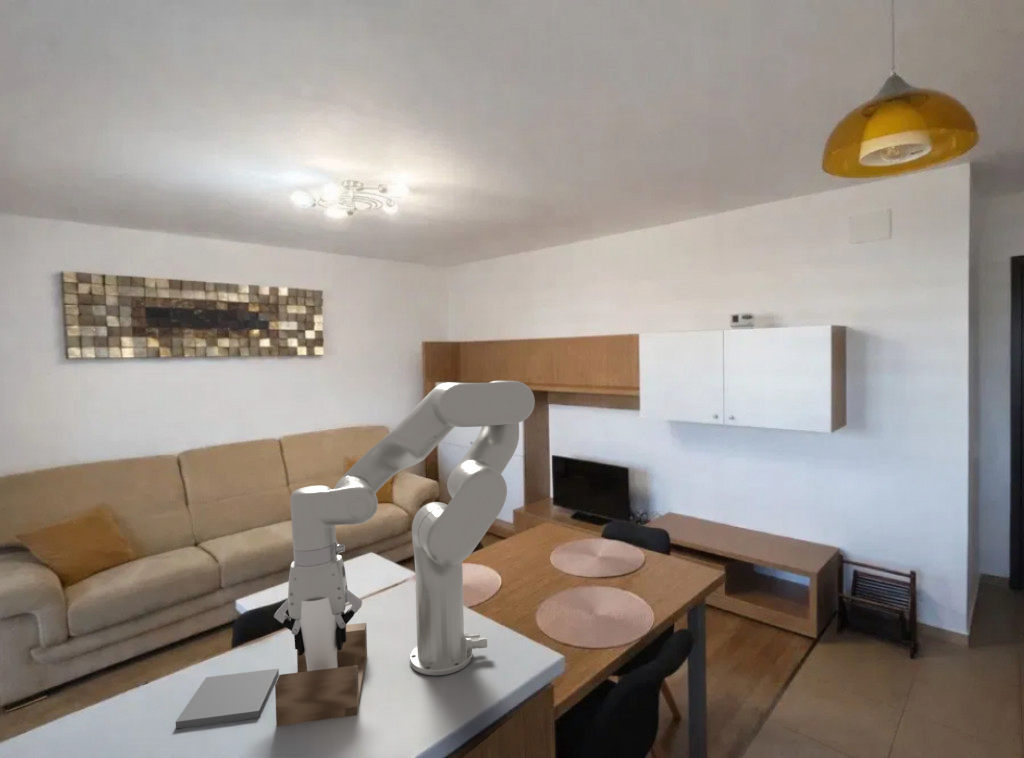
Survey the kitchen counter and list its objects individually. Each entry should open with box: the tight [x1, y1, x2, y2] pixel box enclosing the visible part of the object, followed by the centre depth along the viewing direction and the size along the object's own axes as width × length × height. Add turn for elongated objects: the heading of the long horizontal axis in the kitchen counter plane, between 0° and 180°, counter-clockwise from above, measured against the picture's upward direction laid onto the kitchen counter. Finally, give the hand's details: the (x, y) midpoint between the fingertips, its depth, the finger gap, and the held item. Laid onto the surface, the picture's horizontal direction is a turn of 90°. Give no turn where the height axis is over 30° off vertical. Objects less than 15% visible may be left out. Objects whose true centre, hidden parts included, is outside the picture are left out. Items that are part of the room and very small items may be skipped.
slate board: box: [175, 668, 280, 729], centre depth 95 cm, size 13×13×1 cm
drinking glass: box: [300, 597, 338, 671], centre depth 98 cm, size 7×7×15 cm
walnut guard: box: [274, 622, 368, 727], centre depth 98 cm, size 13×19×7 cm
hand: (321, 648), depth 98 cm, fingers closed on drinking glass, 6 cm apart
